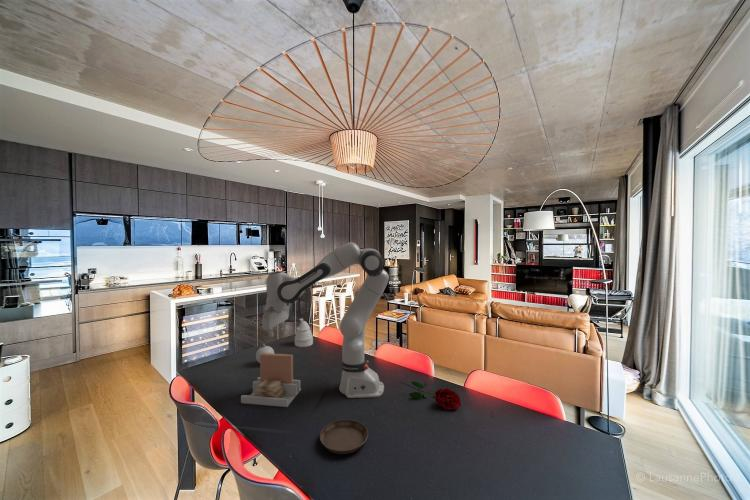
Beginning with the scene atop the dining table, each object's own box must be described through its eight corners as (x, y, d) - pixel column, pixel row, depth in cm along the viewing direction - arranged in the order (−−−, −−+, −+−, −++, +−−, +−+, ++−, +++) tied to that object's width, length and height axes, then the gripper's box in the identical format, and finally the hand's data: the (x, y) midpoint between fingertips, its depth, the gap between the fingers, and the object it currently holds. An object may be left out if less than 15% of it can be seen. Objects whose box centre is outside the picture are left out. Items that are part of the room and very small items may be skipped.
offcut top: (280, 385, 135) (280, 380, 135) (274, 392, 129) (274, 387, 129) (265, 384, 136) (265, 379, 136) (258, 391, 130) (258, 385, 130)
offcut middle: (282, 390, 135) (282, 385, 135) (276, 397, 129) (276, 392, 129) (263, 389, 137) (263, 384, 137) (256, 396, 131) (256, 390, 131)
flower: (398, 371, 138) (461, 391, 124) (404, 373, 146) (464, 392, 131) (393, 391, 135) (457, 414, 121) (400, 392, 142) (460, 414, 128)
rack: (301, 390, 142) (301, 378, 142) (287, 409, 126) (286, 395, 126) (260, 387, 145) (260, 375, 145) (241, 405, 129) (240, 392, 129)
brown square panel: (293, 391, 139) (292, 354, 139) (291, 393, 137) (291, 356, 137) (262, 389, 142) (262, 352, 141) (260, 391, 140) (260, 354, 139)
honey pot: (291, 345, 205) (290, 320, 204) (301, 340, 217) (301, 316, 217) (306, 347, 201) (306, 322, 200) (316, 341, 213) (316, 317, 213)
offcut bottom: (284, 396, 135) (284, 391, 135) (278, 403, 129) (278, 397, 129) (261, 394, 137) (261, 389, 137) (254, 401, 131) (254, 395, 131)
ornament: (252, 365, 171) (252, 345, 171) (263, 359, 181) (263, 340, 181) (266, 367, 168) (266, 347, 168) (277, 360, 178) (277, 341, 178)
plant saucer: (344, 420, 118) (344, 413, 118) (377, 439, 107) (377, 431, 107) (309, 443, 105) (309, 435, 105) (343, 467, 94) (343, 458, 93)
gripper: (271, 310, 128) (271, 341, 128) (291, 301, 148) (291, 327, 149) (258, 309, 129) (258, 340, 129) (279, 300, 149) (279, 327, 149)
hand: (276, 333), depth 139 cm, fingers open, 8 cm apart
